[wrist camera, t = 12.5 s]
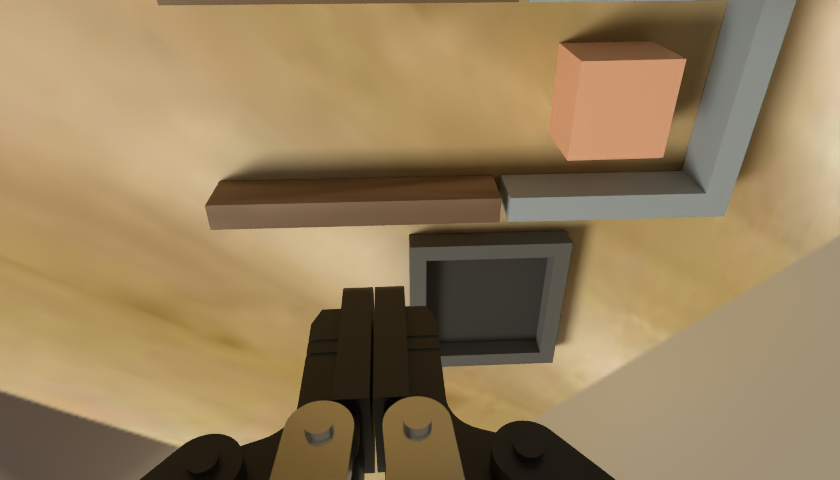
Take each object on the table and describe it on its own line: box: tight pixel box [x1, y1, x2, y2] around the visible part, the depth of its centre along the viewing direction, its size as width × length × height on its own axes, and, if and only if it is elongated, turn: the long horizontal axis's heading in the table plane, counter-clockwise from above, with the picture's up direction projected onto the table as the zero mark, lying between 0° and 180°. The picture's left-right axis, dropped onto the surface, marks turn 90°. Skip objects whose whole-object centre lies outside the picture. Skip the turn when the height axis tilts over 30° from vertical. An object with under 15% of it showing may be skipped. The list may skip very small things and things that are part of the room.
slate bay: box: [499, 0, 796, 222], centre depth 29 cm, size 13×12×3 cm
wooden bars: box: [157, 0, 519, 230], centre depth 29 cm, size 13×16×3 cm
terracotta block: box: [549, 41, 686, 161], centre depth 29 cm, size 5×5×4 cm
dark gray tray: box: [409, 231, 573, 367], centre depth 37 cm, size 10×10×2 cm
